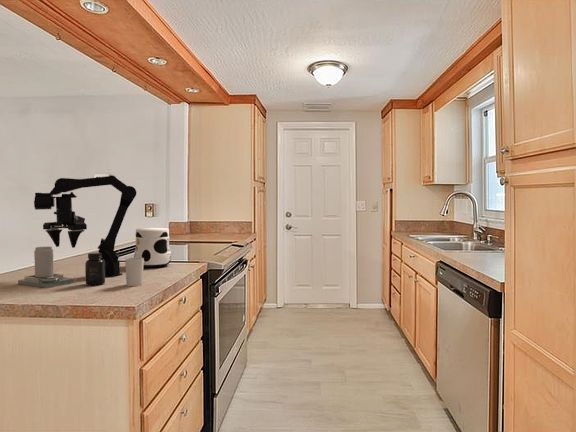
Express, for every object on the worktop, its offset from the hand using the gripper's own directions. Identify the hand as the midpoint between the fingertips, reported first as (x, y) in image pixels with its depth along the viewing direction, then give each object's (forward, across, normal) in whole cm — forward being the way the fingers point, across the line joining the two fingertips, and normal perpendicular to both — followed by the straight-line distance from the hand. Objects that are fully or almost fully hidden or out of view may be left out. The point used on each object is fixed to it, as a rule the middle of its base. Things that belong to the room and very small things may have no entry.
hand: (65, 247), depth 175 cm
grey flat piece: (+13, -2, +11) cm, 17 cm away
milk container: (+14, -11, -39) cm, 43 cm away
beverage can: (+11, 0, +10) cm, 15 cm away
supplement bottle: (+13, -20, +4) cm, 25 cm away
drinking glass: (+13, -35, -2) cm, 37 cm away
